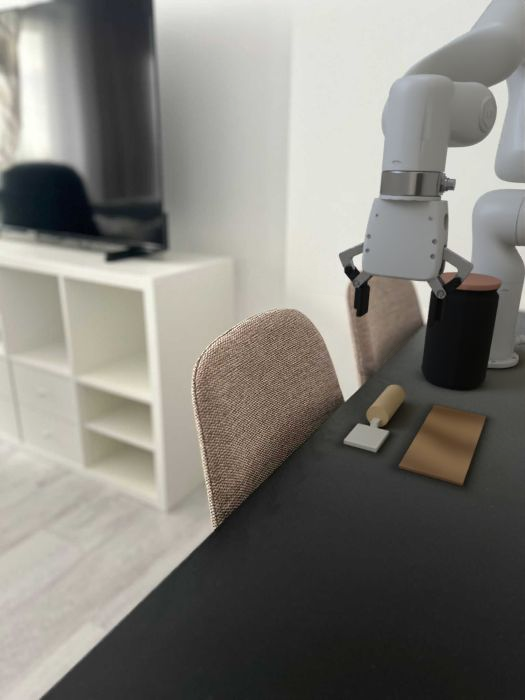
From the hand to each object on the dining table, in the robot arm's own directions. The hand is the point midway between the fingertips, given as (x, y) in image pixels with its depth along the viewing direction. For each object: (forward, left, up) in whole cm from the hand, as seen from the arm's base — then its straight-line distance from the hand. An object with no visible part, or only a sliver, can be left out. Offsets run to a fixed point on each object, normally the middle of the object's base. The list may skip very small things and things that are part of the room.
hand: (396, 320), depth 69 cm
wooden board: (-4, +8, -15) cm, 18 cm away
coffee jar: (-21, -8, -16) cm, 27 cm away
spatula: (+1, 0, -15) cm, 15 cm away
